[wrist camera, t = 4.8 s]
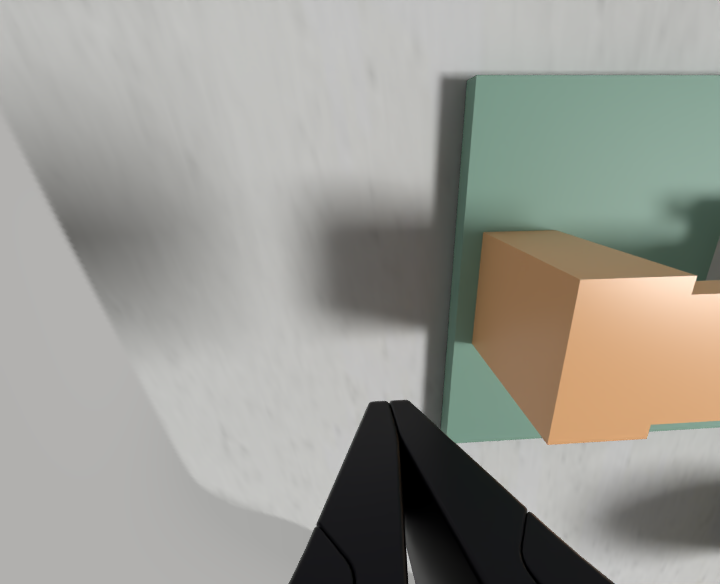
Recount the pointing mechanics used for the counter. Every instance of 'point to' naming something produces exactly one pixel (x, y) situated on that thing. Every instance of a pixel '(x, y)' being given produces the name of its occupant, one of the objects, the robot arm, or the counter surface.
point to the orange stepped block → (596, 336)
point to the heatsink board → (577, 199)
